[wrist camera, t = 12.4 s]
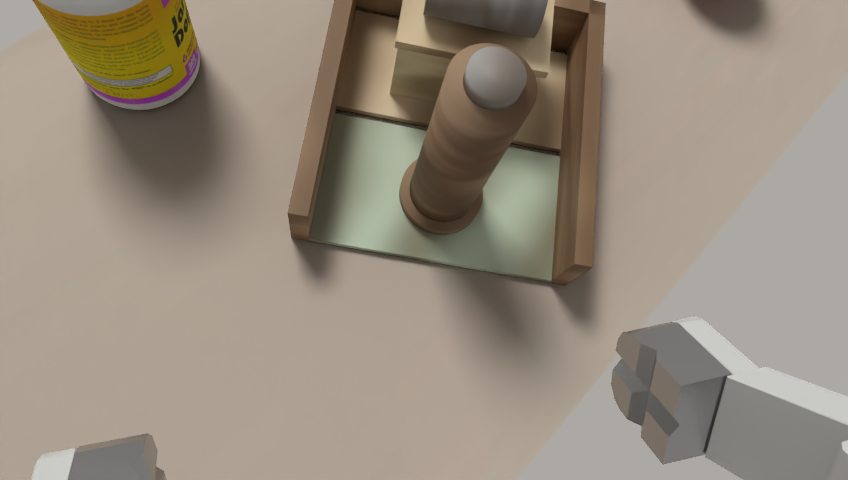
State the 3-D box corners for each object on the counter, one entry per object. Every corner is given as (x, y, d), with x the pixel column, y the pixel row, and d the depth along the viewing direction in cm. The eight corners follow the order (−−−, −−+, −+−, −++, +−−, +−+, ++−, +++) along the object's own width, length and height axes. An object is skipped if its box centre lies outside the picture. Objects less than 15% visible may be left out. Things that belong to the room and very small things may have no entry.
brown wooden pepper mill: (393, 227, 36) (428, 115, 24) (405, 151, 38) (444, 9, 25) (475, 241, 37) (551, 139, 24) (484, 166, 38) (560, 34, 26)
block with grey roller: (385, 96, 39) (402, 3, 31) (398, 22, 41) (417, -83, 32) (518, 122, 40) (568, 39, 32) (525, 49, 41) (575, -47, 33)
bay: (291, 237, 36) (287, 212, 32) (344, -9, 41) (346, -55, 37) (565, 285, 37) (592, 267, 33) (580, 42, 43) (605, 3, 39)
